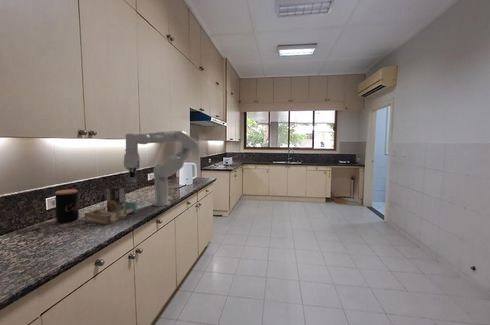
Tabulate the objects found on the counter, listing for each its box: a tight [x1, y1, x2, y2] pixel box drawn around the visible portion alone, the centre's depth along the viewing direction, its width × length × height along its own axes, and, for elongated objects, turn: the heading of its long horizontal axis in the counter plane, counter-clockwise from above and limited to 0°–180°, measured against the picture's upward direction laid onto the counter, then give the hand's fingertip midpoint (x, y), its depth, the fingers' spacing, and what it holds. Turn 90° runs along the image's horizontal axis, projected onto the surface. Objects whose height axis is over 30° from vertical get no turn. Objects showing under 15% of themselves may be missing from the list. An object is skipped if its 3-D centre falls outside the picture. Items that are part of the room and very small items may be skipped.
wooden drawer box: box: [84, 206, 128, 226], centre depth 142 cm, size 14×17×5 cm
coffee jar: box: [54, 188, 80, 224], centre depth 138 cm, size 11×11×18 cm
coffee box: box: [105, 186, 127, 213], centre depth 149 cm, size 9×6×16 cm
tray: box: [101, 201, 138, 215], centre depth 151 cm, size 14×17×7 cm
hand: (132, 177), depth 163 cm, fingers closed
